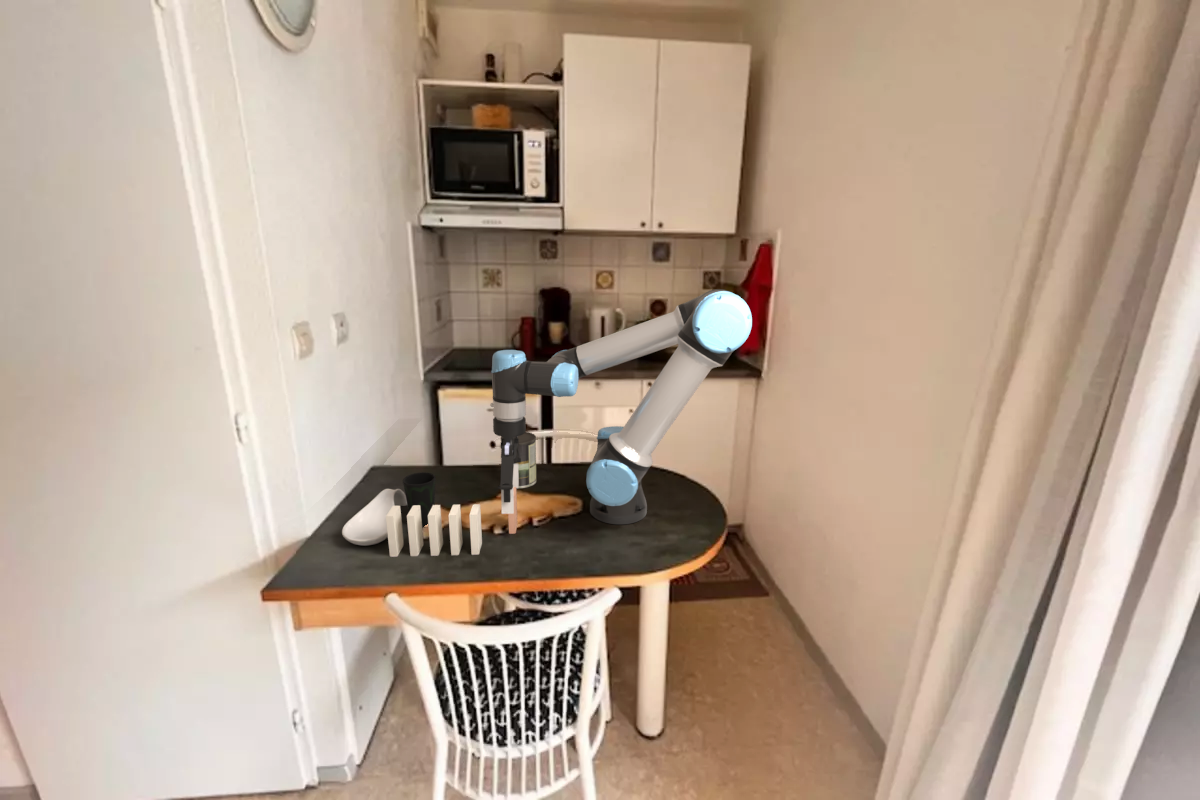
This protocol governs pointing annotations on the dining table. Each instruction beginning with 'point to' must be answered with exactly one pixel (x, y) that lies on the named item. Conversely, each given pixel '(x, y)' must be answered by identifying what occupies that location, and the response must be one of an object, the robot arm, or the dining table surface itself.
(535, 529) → the dining table surface
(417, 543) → the tile
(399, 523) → the cream flat rectangular block
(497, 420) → the robot arm
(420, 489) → the cup
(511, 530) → the tile
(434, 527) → the tile
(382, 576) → the dining table surface
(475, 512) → the tile
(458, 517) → the tile
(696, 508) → the dining table surface
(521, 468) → the coffee can
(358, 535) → the spoon rest
